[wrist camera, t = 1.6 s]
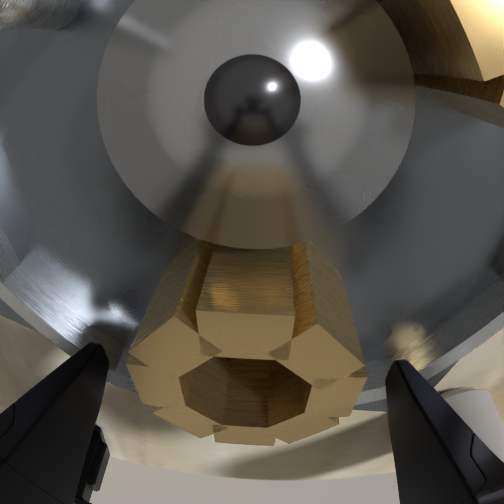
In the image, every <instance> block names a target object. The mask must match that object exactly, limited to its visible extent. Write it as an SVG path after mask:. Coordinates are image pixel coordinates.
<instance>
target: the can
mask: <svg viewBox="0 0 504 504" xmlns="http://www.w3.org/2000/svg"><path fill="white" fill-rule="evenodd" d="M440 395H441V396H442V397H443V398H444V400H445V401H446V402H447V403H448V404H449V405H450V406H451V407H452V408H453V409H454V410H455V412H456V413H457V414H458V415H459V416H460V417H461V418H462V419H463V420H464V421H465V423H466V424H467V425H468V426H469V427H470V428H471V429H472V430H473V433H475V434H476V435H477V436H478V437H479V438H480V439H481V440H482V441H483V442H484V443H485V445H486V446H487V447H488V448H489V449H490V450H491V451H492V452H493V453H494V454H495V455H496V456H497V457H498V458H499V459H501V460H502V461H503V462H504V426H503V423H502V421H501V418H500V415H499V413H498V411H497V408H496V406H495V403H494V401H493V398H492V396H491V394H490V393H489V392H487V391H485V390H480V389H474V388H472V387H461V388H457V389H453V390H449V391H447V392H444V393H442V394H440Z"/></svg>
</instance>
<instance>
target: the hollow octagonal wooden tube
mask: <svg viewBox="0 0 504 504" xmlns="http://www.w3.org/2000/svg"><path fill="white" fill-rule="evenodd" d="M128 353H130V354H129V357H128V359H127V362H126V365H127V368H128V371H129V373H130V376H131V378H132V380H133V383H134V385H135V388H136V390H137V392H138V395H139V397H140V399H141V402H142V404H145V405H151V406H154V408H153V411H152V413H153V414H155V415H157V416H158V417H160V418H162V419H164V420H166V421H168V422H170V423H171V424H173V425H175V426H177V427H179V428H181V429H183V430H185V431H187V432H189V433H191V434H193V435H195V436H197V437H199V438H203V437H206V436H209V435H212V434H214V438H215V442H219V443H231V444H245V445H267V446H274V443H275V438H277V439H280V440H282V441H284V442H286V443H288V444H289V443H292V442H295V441H298V440H300V439H303V438H306V437H308V436H311V435H314V434H316V433H319V432H321V431H324V430H326V429H329V428H331V427H334V426H336V425H338V424H339V419H338V417H346V416H350V414H351V412H352V410H353V408H354V406H355V404H356V401H357V399H358V397H359V395H360V393H361V391H362V389H363V387H364V384H365V382H366V380H367V378H368V376H367V372H366V368H365V362H364V358H363V354H362V350H361V346H360V342H359V338H358V334H357V330H356V326H355V322H354V319H353V315H352V311H351V307H350V304H349V300H348V296H347V293H346V289H345V286H344V282H343V279H342V275H341V272H340V271H339V270H338V269H337V268H336V267H335V266H334V265H333V263H332V262H331V261H330V260H329V259H328V258H327V257H326V256H325V255H324V254H323V253H322V252H321V251H320V250H319V249H318V248H317V246H316V245H315V244H314V243H313V242H312V241H311V240H310V241H307V242H303V243H299V244H296V245H292V246H286V247H279V248H272V249H246V248H234V247H228V246H223V245H218V244H214V243H211V242H208V241H204V240H201V239H198V238H195V239H194V240H193V241H192V242H191V243H190V244H189V245H188V246H187V247H186V248H184V249H183V250H182V251H181V252H180V253H179V254H178V255H177V256H176V257H175V258H174V259H173V260H172V261H171V262H170V263H169V264H168V265H167V267H166V269H165V271H164V273H163V275H162V277H161V279H160V282H159V284H158V286H157V288H156V290H155V292H154V295H153V297H152V299H151V301H150V303H149V306H148V308H147V310H146V312H145V315H144V317H143V319H142V321H141V324H140V326H139V328H138V330H137V333H136V335H135V337H134V340H133V342H132V344H131V347H130V349H129V352H128Z"/></svg>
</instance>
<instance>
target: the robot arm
mask: <svg viewBox="0 0 504 504" xmlns="http://www.w3.org/2000/svg"><path fill="white" fill-rule="evenodd" d="M108 370H109V359H108V357H107V355H106V352H105V350H104V347H103V345H102V344H100V343H94V342H90V343H88V344H86V345H85V346H84V347H83V348H81V349H80V350H79V351H78V352H76V353H75V354H74V355H73V356H71V357H70V358H69V359H67V360H66V361H65V362H64V363H62V364H61V365H60V366H59V367H57V368H56V369H55V370H54V371H52V372H51V373H50V374H49V375H47V376H46V377H45V378H44V379H43V380H41V381H40V382H39V383H38V384H36V385H35V386H34V387H33V388H31V389H30V390H29V391H28V392H27V393H25V394H24V395H23V396H22V397H20V398H19V399H18V400H17V401H16V402H15V403H13V404H12V405H11V406H9V407H8V408H7V409H6V410H4V411H3V412H2V413H1V414H0V504H92V503H89V501H90V497H91V494H92V491H93V490H94V491H99V490H100V487H101V483H102V480H103V476H104V473H105V470H106V466H107V463H108V460H109V457H110V453H109V449H108V446H107V444H106V443H105V440H104V436H103V433H102V430H101V429H100V428H99V427H97V426H95V423H96V420H97V416H98V413H99V410H100V406H101V402H102V397H103V393H104V388H105V383H106V379H107V374H108ZM385 386H386V398H387V411H388V424H389V431H390V437H391V443H392V449H393V455H394V462H395V468H396V475H397V483H398V490H399V499H400V504H504V462H503V461H502V460H501V459H499V458H498V457H497V456H496V455H495V454H494V453H493V452H492V451H491V450H490V449H489V448H488V447H487V446H486V445H485V443H484V442H483V441H482V440H481V439H480V438H479V437H478V436H477V435H476V434H475V433H473V430H472V429H471V428H470V427H469V426H468V425H467V424H466V423H465V421H464V420H463V419H462V418H461V417H460V416H459V415H458V414H457V413H456V412H455V410H454V409H453V408H452V407H451V406H450V405H449V404H448V403H447V402H446V401H445V400H444V398H443V397H442V396H441V395H440V394H439V393H438V392H437V391H436V390H435V389H434V388H433V387H432V386H431V384H430V383H429V382H428V381H427V380H426V379H425V378H424V377H423V376H422V375H421V374H420V373H419V372H418V371H417V370H416V369H415V368H414V366H413V365H412V364H411V363H410V362H409V361H408V360H405V359H402V360H395V361H394V362H393V363H392V365H391V367H390V369H389V371H388V373H387V375H386V379H385Z"/></svg>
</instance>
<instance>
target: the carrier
mask: <svg viewBox="0 0 504 504" xmlns="http://www.w3.org/2000/svg"><path fill="white" fill-rule="evenodd" d="M134 1H135V0H0V314H1V315H3V316H5V317H7V318H9V319H11V320H13V321H15V322H17V323H20V324H22V325H24V326H26V327H28V328H31V329H33V330H35V331H38V332H40V333H41V334H42V335H44V336H45V337H46V338H47V339H49V340H50V341H51V342H52V343H54V344H55V345H56V346H58V347H59V348H60V349H62V350H63V351H64V352H66V353H67V354H68V355H70V356H73V355H74V354H75V353H76V352H78V351H79V350H80V349H81V348H83V347H84V346H85V345H86V344H88V343H90V342H94V343H100V344H102V345H103V347H104V350H105V352H106V355H107V357H108V359H109V370H108V374H107V379H106V381H107V382H110V381H111V384H114V385H117V386H120V387H123V388H126V389H129V390H132V391H135V392H137V390H136V388H135V385H134V383H133V380H132V378H131V376H130V373H129V371H128V368H127V365H126V362H127V359H128V357H129V354H130V353H128V352H129V349H130V347H131V344H132V342H133V340H134V337H135V335H136V333H137V330H138V328H139V326H140V324H141V321H142V319H143V317H144V315H145V312H146V310H147V308H148V306H149V303H150V301H151V299H152V297H153V295H154V292H155V290H156V288H157V286H158V284H159V282H160V279H161V277H162V275H163V273H164V271H165V269H166V267H167V265H168V264H169V263H170V262H171V261H172V260H173V259H174V258H175V257H176V256H177V255H178V254H179V253H180V252H181V251H182V250H183V249H184V248H186V247H187V246H188V245H189V244H190V243H191V242H192V241H193V240H194V239H195V237H193V236H191V235H189V234H187V233H184V232H182V231H180V230H178V229H176V228H175V227H173V226H171V225H170V224H168V223H166V222H165V221H163V220H162V219H160V218H159V217H158V216H157V215H155V214H154V213H153V212H151V211H150V210H149V209H148V208H147V207H146V206H145V205H143V204H142V203H141V202H140V201H139V200H138V199H137V198H136V197H135V196H134V194H133V193H132V192H131V191H130V189H129V188H128V187H127V186H126V184H125V183H124V182H123V180H122V179H121V177H120V176H119V174H118V172H117V171H116V169H115V167H114V166H113V164H112V161H111V159H110V157H109V155H108V153H107V150H106V148H105V145H104V141H103V138H102V135H101V131H100V126H99V120H98V114H97V84H98V75H99V70H100V66H101V62H102V58H103V54H104V52H105V49H106V47H107V44H108V42H109V39H110V37H111V35H112V33H113V31H114V29H115V28H116V26H117V24H118V23H119V21H120V19H121V18H122V16H123V15H124V14H125V12H126V11H127V10H128V9H129V7H130V6H131V5H132V4H133V2H134ZM376 1H377V2H378V3H380V2H382V1H384V0H376ZM417 75H418V73H413V76H414V84H415V82H416V78H417ZM415 93H416V97H415V117H414V123H413V129H412V134H411V137H410V140H409V144H408V147H407V150H406V153H405V155H404V157H403V159H402V161H401V163H400V165H399V167H398V169H397V171H396V173H395V174H394V176H393V177H392V179H391V180H390V182H389V183H388V185H387V186H386V188H385V189H384V190H383V191H382V192H381V193H380V195H379V196H378V197H377V198H376V199H375V200H374V201H373V202H372V203H371V204H370V205H369V206H368V207H367V208H366V209H365V210H363V211H362V212H361V213H360V214H359V215H357V216H356V217H355V218H353V219H352V220H350V221H349V222H347V223H346V224H345V225H343V226H341V227H339V228H337V229H335V230H334V231H332V232H330V233H328V234H326V235H323V236H321V237H318V238H315V239H313V240H311V241H312V242H313V243H314V244H315V245H316V246H317V248H318V249H319V250H320V251H321V252H322V253H323V254H324V255H325V256H326V257H327V258H328V259H329V260H330V261H331V262H332V263H333V265H334V266H335V267H336V268H337V269H338V270H339V271H340V272H341V275H342V279H343V282H344V286H345V289H346V293H347V296H348V300H349V304H350V307H351V311H352V315H353V319H354V322H355V326H356V330H357V334H358V338H359V342H360V346H361V350H362V354H363V358H364V362H365V368H366V372H367V376H368V378H367V380H366V382H365V384H364V387H363V389H362V391H361V393H360V395H359V397H358V399H357V401H356V404H355V406H354V408H353V409H354V410H367V411H384V412H388V411H387V398H386V386H385V379H386V375H387V373H388V371H389V369H390V367H391V365H392V363H393V362H394V361H395V360H402V359H405V360H408V361H409V362H410V363H411V364H412V365H413V366H414V368H415V369H416V370H417V371H418V372H419V373H420V374H421V375H422V376H423V377H424V378H425V379H426V380H427V381H428V382H429V383H430V384H431V386H432V387H433V388H434V387H435V386H436V385H437V384H438V382H439V381H440V380H441V379H442V378H443V377H444V376H445V375H446V374H447V373H448V372H449V371H450V369H451V368H452V367H453V366H454V365H455V364H456V363H457V361H458V360H459V359H461V358H462V357H464V356H465V355H467V354H468V353H469V352H471V351H472V350H474V349H475V348H477V347H478V346H479V345H481V344H482V343H484V342H485V341H486V340H488V339H489V338H490V337H492V336H493V335H494V334H496V333H497V332H498V331H499V330H501V329H502V328H503V327H504V128H501V127H499V126H496V125H493V124H491V123H488V122H485V121H483V120H480V119H477V118H474V117H471V116H469V115H466V114H464V113H463V112H461V111H459V110H458V109H456V108H454V107H453V106H451V105H449V104H447V103H446V102H444V101H442V100H440V99H439V98H437V97H435V96H433V95H431V94H429V93H428V92H426V91H424V90H422V89H420V88H418V87H416V86H415Z"/></svg>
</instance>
